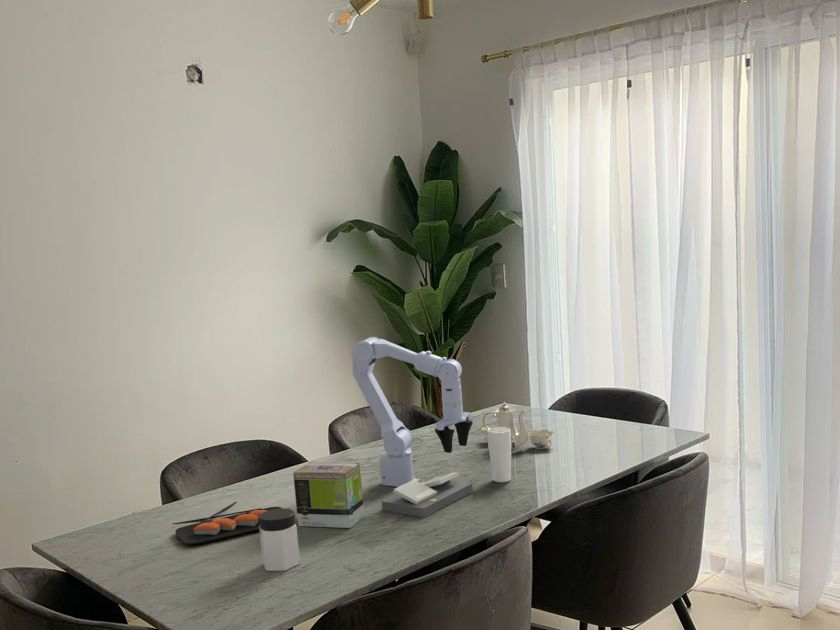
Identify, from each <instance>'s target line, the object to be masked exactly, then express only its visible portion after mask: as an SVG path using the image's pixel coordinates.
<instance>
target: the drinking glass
mask: <svg viewBox="0 0 840 630" xmlns="http://www.w3.org/2000/svg"><path fill="white" fill-rule="evenodd" d="M487 435H488V439H487V440H488V441H487V447H488V452H489V461H490V467H491V472H492V473H491V474H492V480H493V481H494V482H496V483H507V482H508V483H509V482H510V481H511V480H512V470H511V469H512V454H511V431H510V429H509V428H507V427H495V428H490V429H488V431H487Z"/></svg>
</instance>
